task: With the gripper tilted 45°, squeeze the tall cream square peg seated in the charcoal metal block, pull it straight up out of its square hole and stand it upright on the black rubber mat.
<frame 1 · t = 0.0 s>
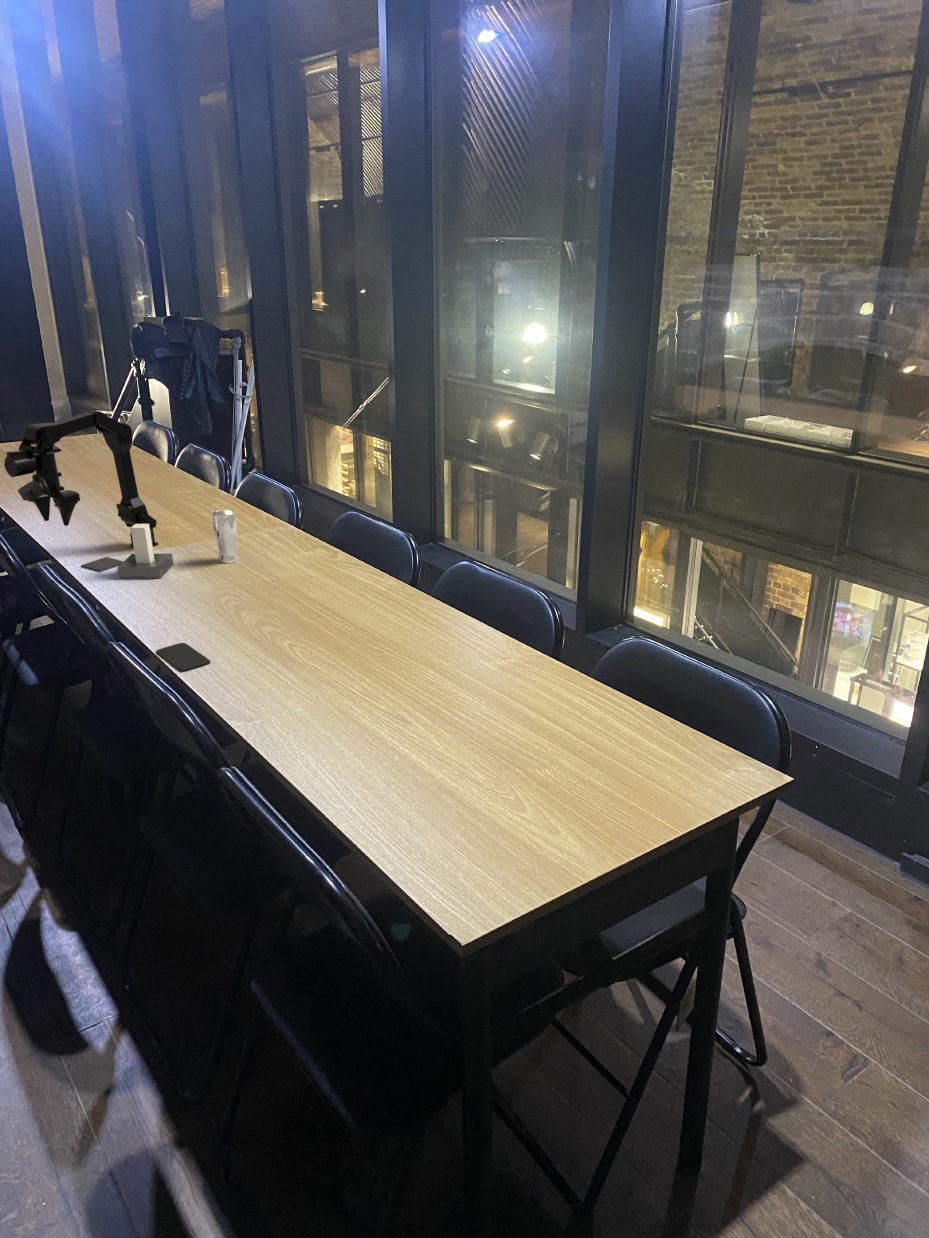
hand: (56, 523, 254), 15 cm above the table, tool pointing down, fingers open, 9 cm apart
beer glass: (228, 560, 268), on the table
peg: (143, 548, 256), in the socket block
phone: (183, 659, 203), on the table
mat: (103, 565, 264), on the table
socket block: (147, 571, 258), on the table
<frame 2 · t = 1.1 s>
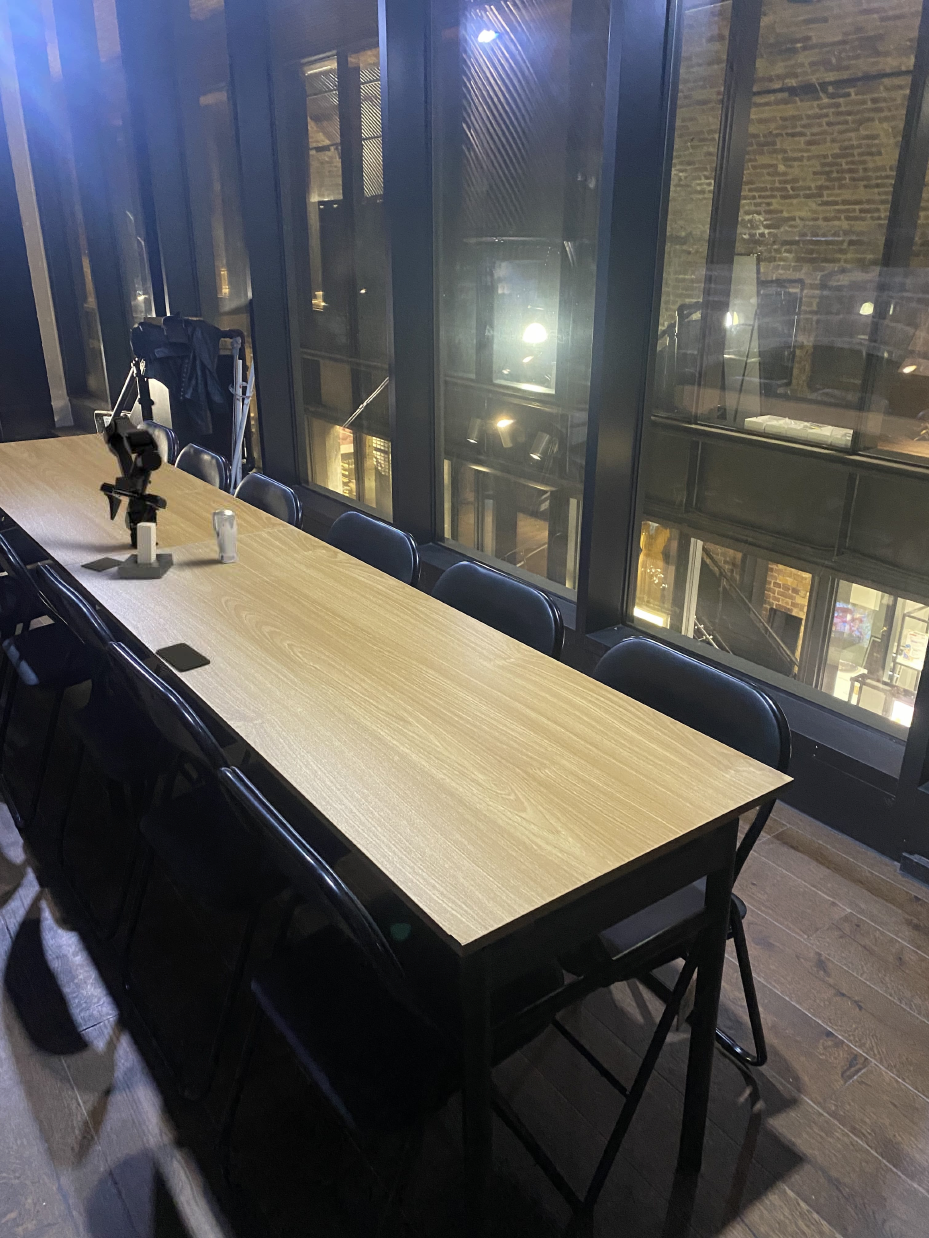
hand: (125, 523, 257), 14 cm above the table, tool tilted 30°, fingers open, 8 cm apart
peg: (146, 547, 256), in the socket block, tilted 8°, touching gripper
everything else where it was.
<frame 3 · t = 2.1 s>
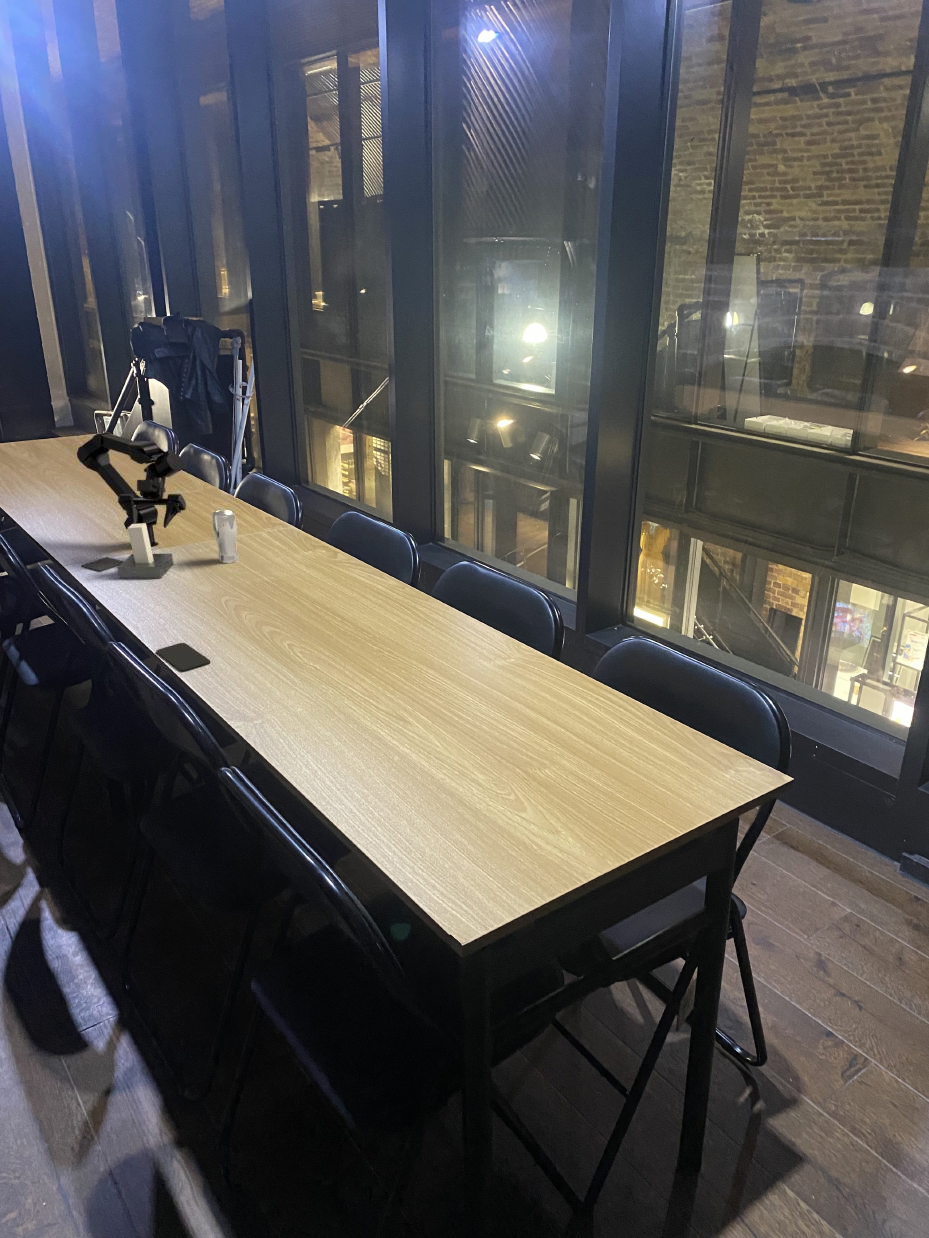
hand: (149, 527, 260), 11 cm above the table, tool tilted 45°, fingers open, 9 cm apart
peg: (141, 548, 256), in the socket block
everything else where it was.
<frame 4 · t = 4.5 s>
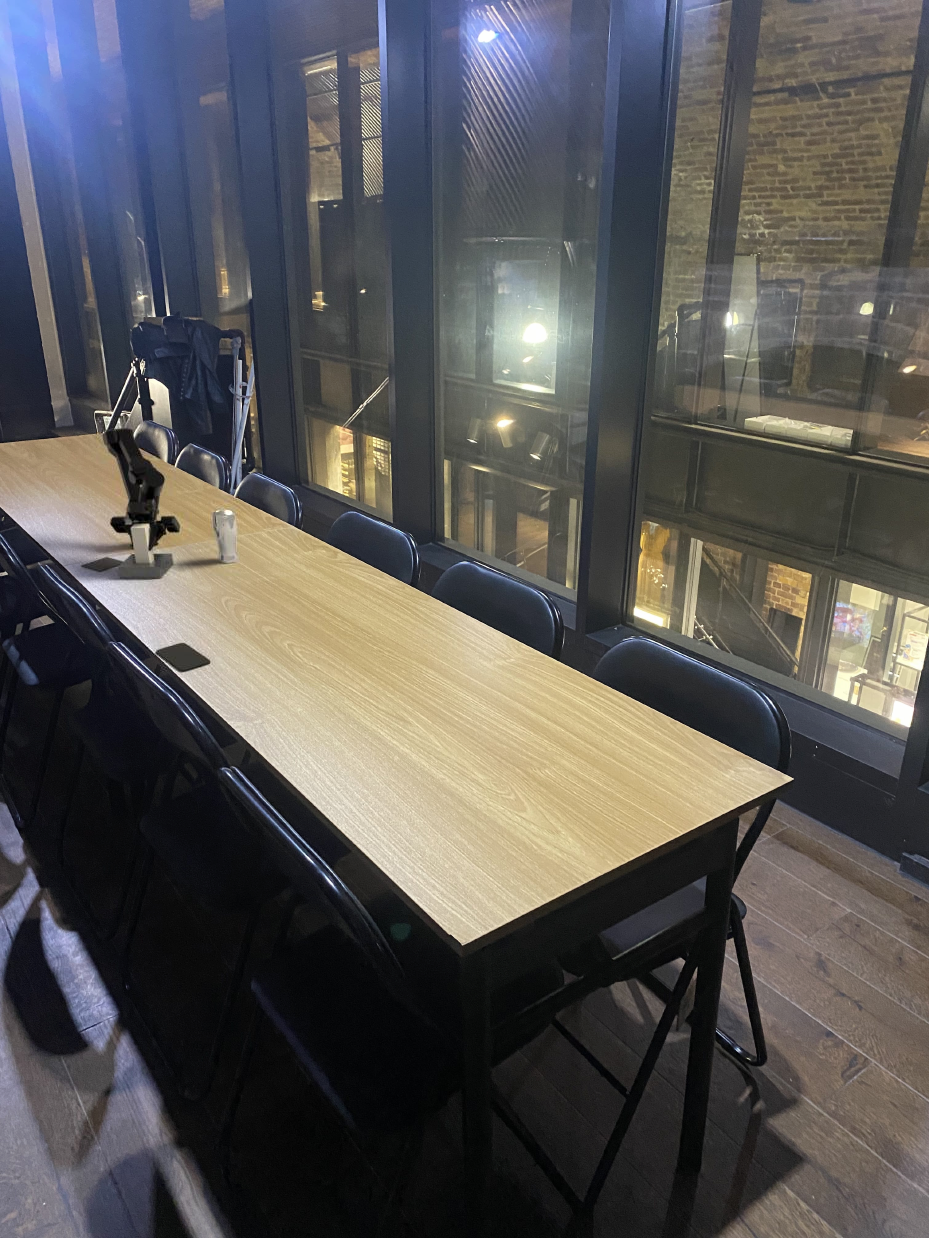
hand: (141, 550, 254), 7 cm above the table, tool tilted 45°, fingers closed on peg, 4 cm apart
peg: (143, 548, 256), in the socket block, touching gripper
everything else where it was.
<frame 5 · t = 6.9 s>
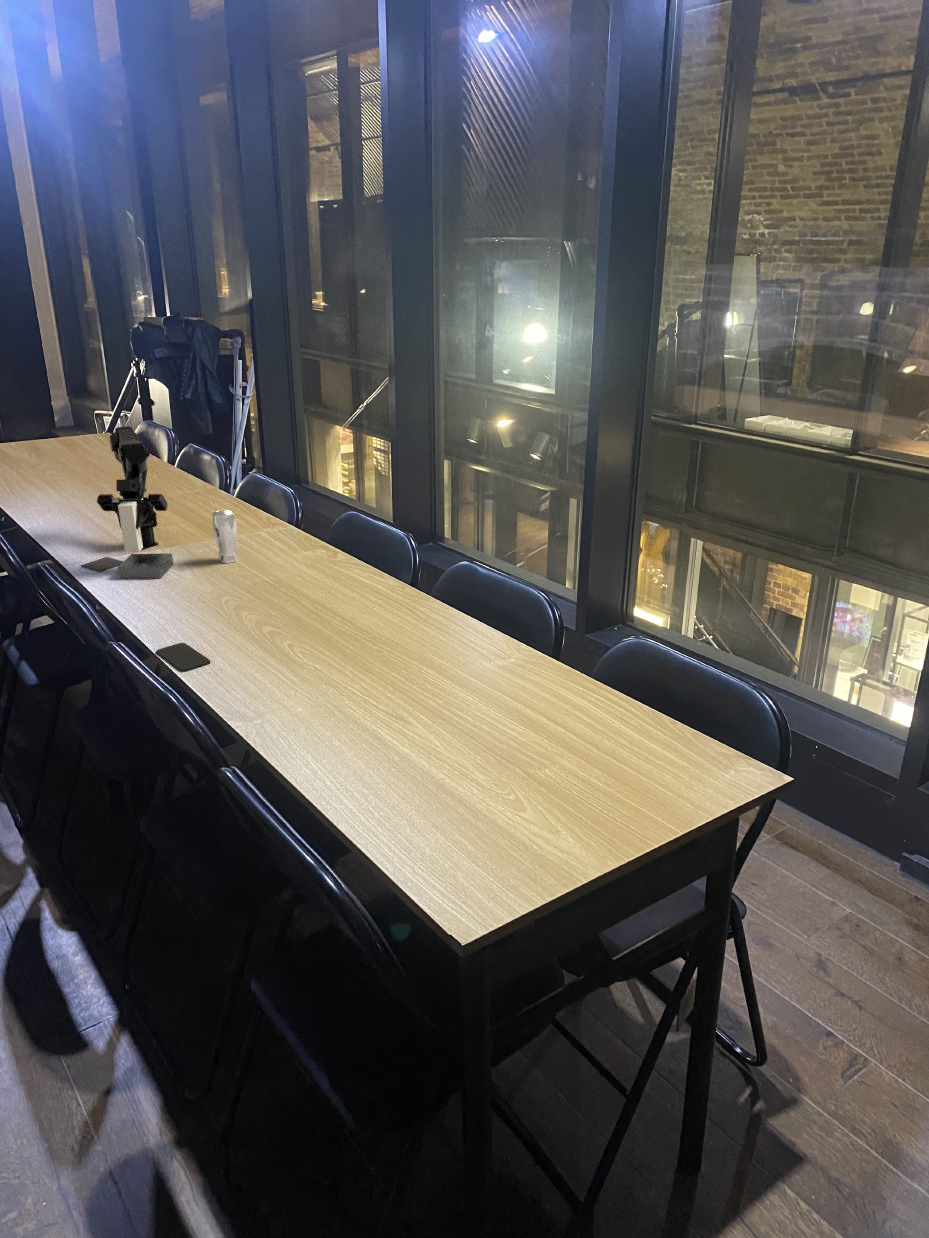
hand: (129, 528, 253), 13 cm above the table, tool tilted 45°, fingers closed on peg, 4 cm apart
peg: (130, 527, 255), point 13 cm above the table, touching gripper
everything else where it was.
when the fingers open (9 cm above the table, at t = 9.7 s): peg drops 1 cm, resting on mat.
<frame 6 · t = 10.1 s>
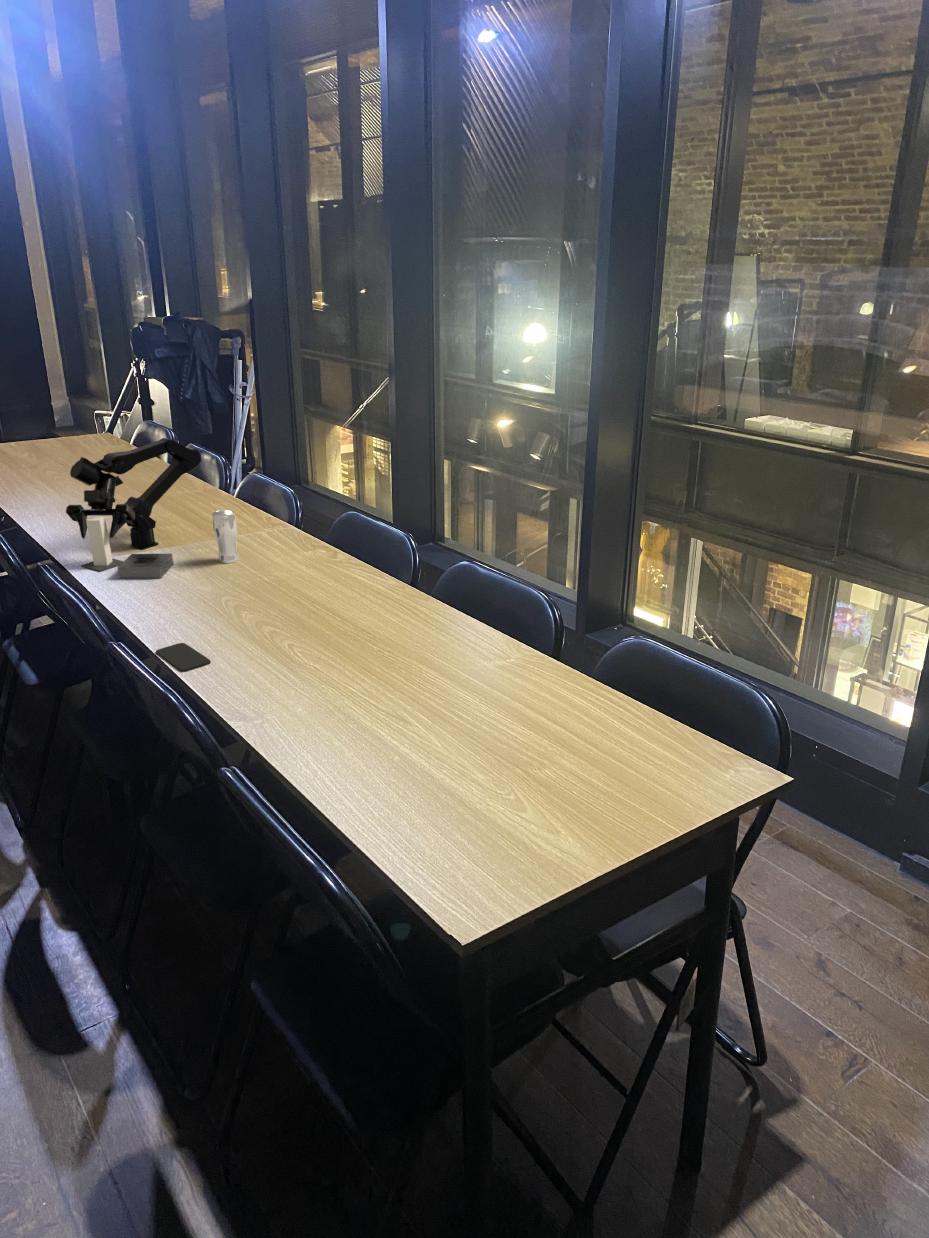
hand: (96, 538, 259), 9 cm above the table, tool tilted 45°, fingers open, 8 cm apart
peg: (99, 541, 261), on the mat
everything else where it was.
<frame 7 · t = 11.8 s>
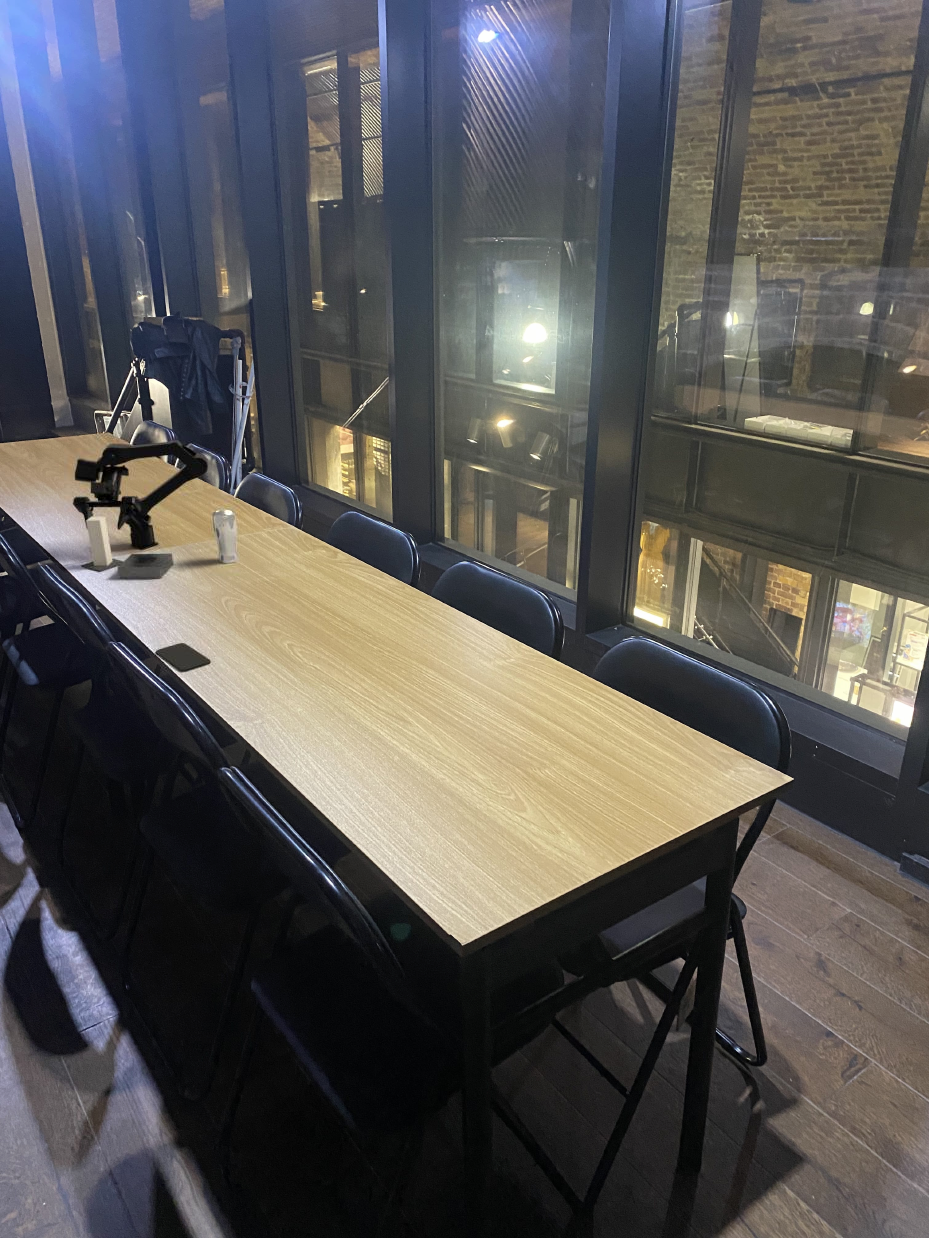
hand: (103, 529, 264), 10 cm above the table, tool tilted 45°, fingers open, 9 cm apart
nothing on the table moved.
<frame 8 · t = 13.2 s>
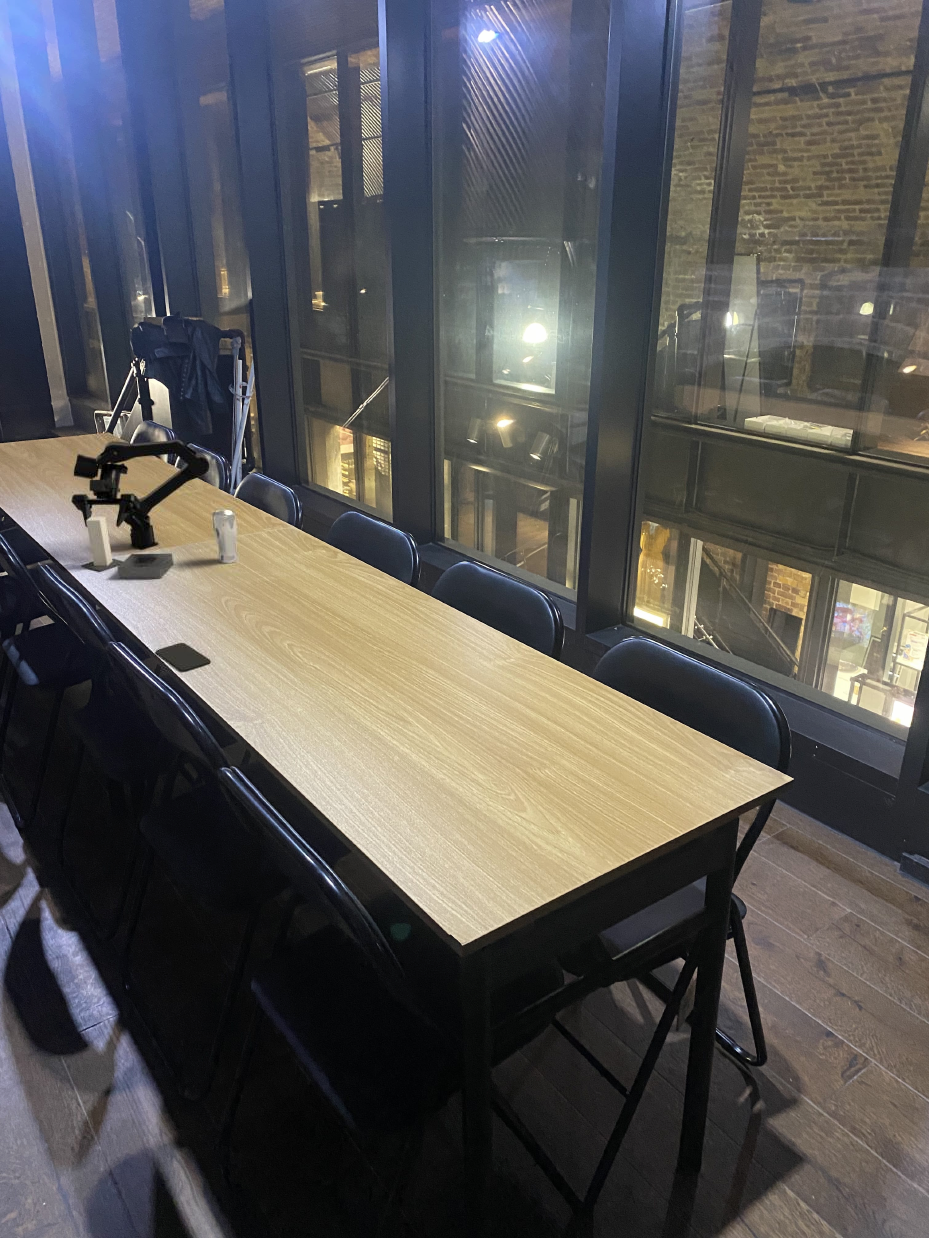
hand: (102, 526, 263), 11 cm above the table, tool tilted 45°, fingers open, 9 cm apart
nothing on the table moved.
at the end: peg inside the target area on the mat (0.0 cm from its centre), point 7.5 cm above the mat's base; peg tilted 0°; the gripper is holding nothing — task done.
